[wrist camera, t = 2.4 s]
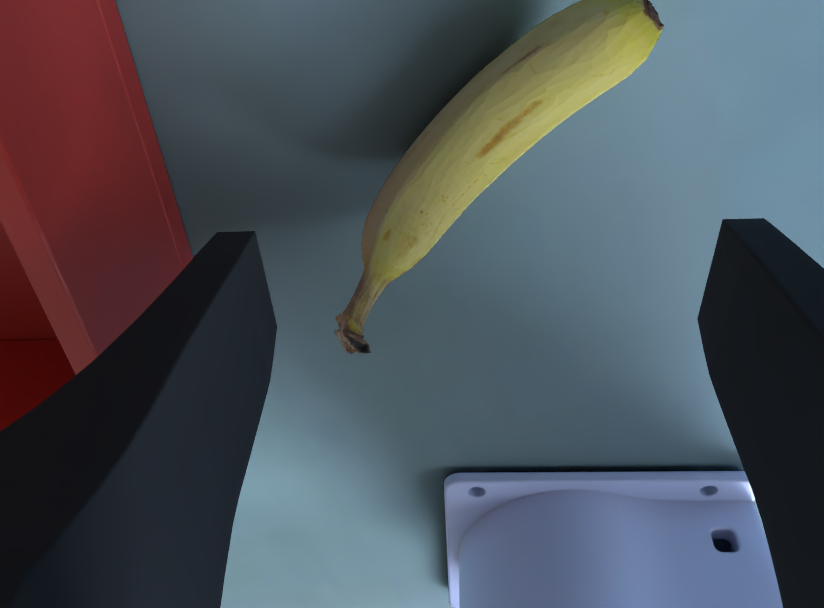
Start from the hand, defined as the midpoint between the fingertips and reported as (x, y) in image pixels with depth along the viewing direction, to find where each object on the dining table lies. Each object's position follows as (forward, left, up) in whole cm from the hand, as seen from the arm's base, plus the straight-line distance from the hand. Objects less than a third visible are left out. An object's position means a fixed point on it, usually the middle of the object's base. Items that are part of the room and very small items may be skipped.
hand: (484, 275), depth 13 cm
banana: (0, 0, -6) cm, 6 cm away
